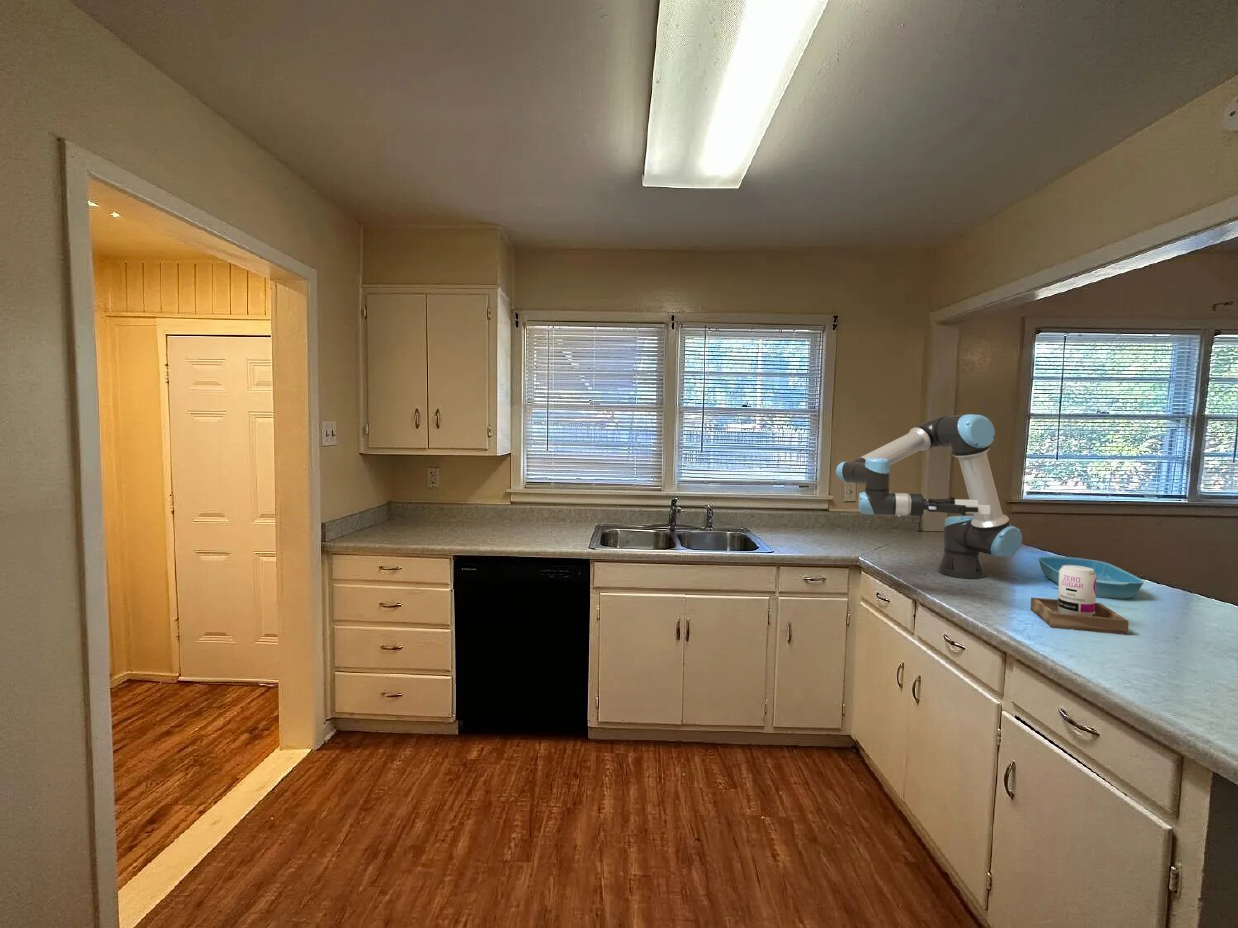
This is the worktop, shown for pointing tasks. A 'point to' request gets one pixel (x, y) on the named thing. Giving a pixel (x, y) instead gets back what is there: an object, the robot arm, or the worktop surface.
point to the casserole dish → (1107, 576)
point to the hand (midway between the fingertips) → (983, 506)
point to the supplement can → (1076, 590)
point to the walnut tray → (1079, 618)
